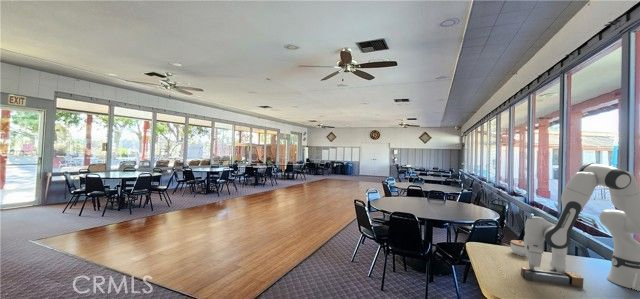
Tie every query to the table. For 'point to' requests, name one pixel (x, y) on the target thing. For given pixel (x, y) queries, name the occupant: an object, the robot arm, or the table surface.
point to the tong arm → (541, 272)
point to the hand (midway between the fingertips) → (531, 268)
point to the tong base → (556, 278)
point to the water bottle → (558, 259)
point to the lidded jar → (518, 247)
